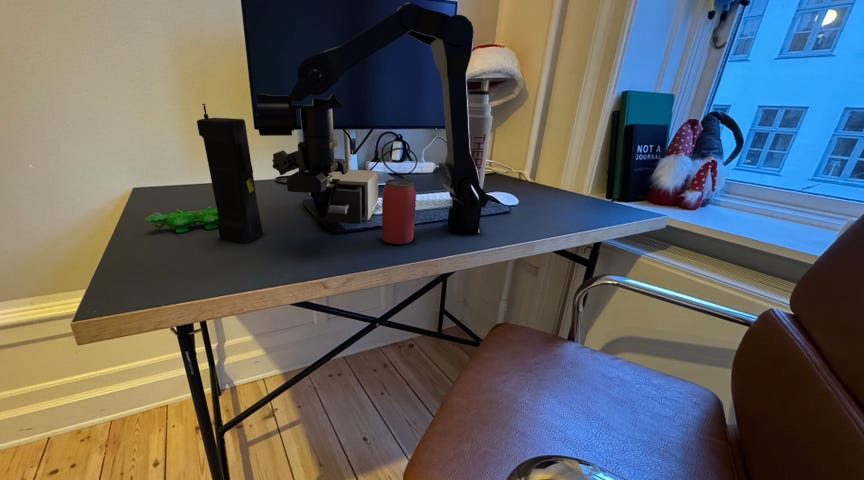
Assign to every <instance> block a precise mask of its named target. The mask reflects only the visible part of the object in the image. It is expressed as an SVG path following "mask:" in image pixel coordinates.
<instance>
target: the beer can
mask: <svg viewBox="0 0 864 480" xmlns="http://www.w3.org/2000/svg"><path fill="white" fill-rule="evenodd" d="M384 182H385V184H384V186H383V189H382V193H381V194H382V196H381V197H382V199H381V205H382V206H381V238H382V240H383V241H384V242H385V243H387V244H389V245H396V246H403V245H408V244H410V243H411V242H413V240H414V237H415V221H416V204H417V202H416V201H417V191H416V187H415V182H414V181H413V180H411V179H406V178H390V179H386V181H384Z"/></svg>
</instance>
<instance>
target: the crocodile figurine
mask: <svg viewBox="0 0 864 480" xmlns="http://www.w3.org/2000/svg"><path fill="white" fill-rule="evenodd" d="M144 220H145V221H147V222H149V223H152V225H154V226H155V227H156V228H155V230H156V231H160V230H161V229H162V228H163V227H164V226H167V227H168V228H171V229H172V230H173V231H174V230H175V232H176V233H177V234H182V233H183V234H184V233H186V232H188V231H190V229H189V227H194V226H197V225H202V226H204V229H205V230H213V229H217V228H218V226H217V224H218V221H219V218H218V212H217V207H216V206H215V207H214V208H212V206H210V205H209V206H208V207H207V208H205V209H199V210H193V211H191V210H188V211H181V210H179V209H175V212H172V211H171V212H170V213H167V214H161V213H160V212H158V211H157V212H154V213H153V214H150V215H148V216H146V217H145V218H144Z"/></svg>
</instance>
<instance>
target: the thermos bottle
mask: <svg viewBox="0 0 864 480" xmlns="http://www.w3.org/2000/svg"><path fill="white" fill-rule="evenodd" d="M468 94H469V96H468V117H469V137H470V152H471V155H472V158H473V160H474V162H475V165H476V167H477V171H478V176H479V180H480V187H481V188H482V190H483V191H484V184H485V183H484V182H485V175H486V169H487V168H486V167H487V161H488V153H489V146H490V139H491V131H492V124H493V118H494V116H493V115H491V112H492V105H490V104H489V99H490V98H489V95H490V91H489V90H482V89H481V90H480V89H479V90H478V89H477V90H469V91H468ZM452 200H453V198H451V201H452Z"/></svg>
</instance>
